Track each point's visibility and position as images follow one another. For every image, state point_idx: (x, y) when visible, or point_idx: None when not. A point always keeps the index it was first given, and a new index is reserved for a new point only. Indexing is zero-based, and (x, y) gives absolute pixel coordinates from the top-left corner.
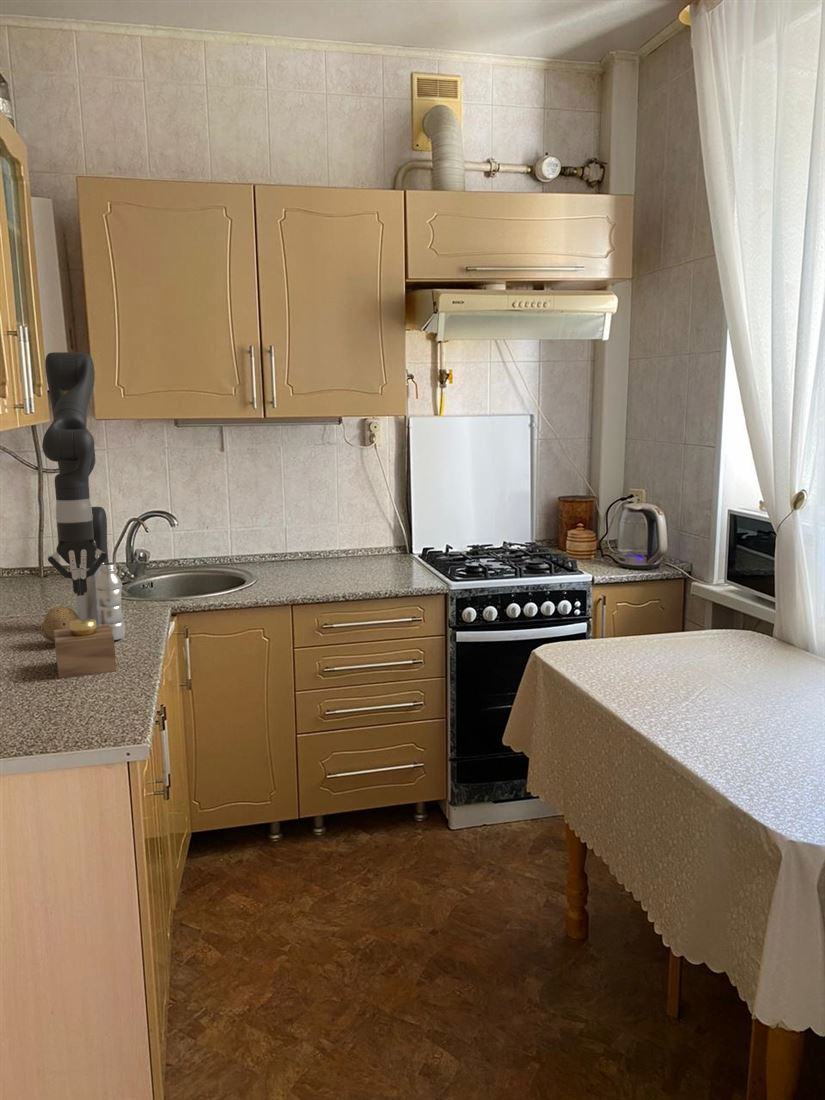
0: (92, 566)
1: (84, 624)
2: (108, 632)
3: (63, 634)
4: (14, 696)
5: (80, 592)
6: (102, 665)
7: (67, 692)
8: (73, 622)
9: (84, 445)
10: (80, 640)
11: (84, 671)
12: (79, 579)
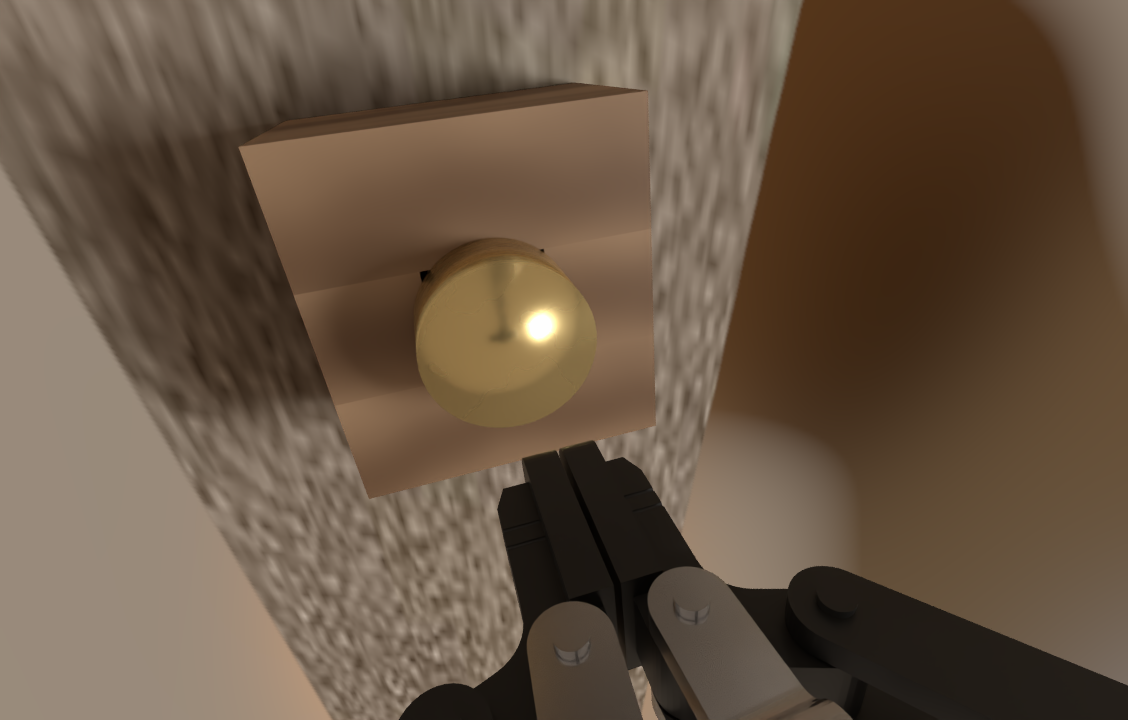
0: (924, 695)
1: (526, 420)
2: (635, 334)
3: (362, 313)
4: (258, 562)
5: (564, 462)
6: None
7: (444, 541)
8: (445, 367)
9: None
10: (495, 466)
11: None
12: (616, 584)
